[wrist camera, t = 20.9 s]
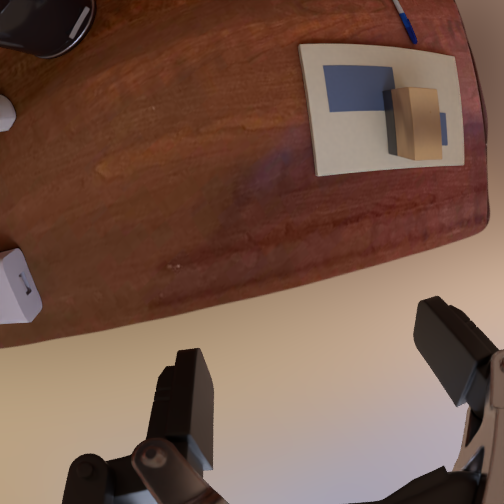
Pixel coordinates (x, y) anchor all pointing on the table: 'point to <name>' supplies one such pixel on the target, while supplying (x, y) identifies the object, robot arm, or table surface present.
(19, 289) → the charger
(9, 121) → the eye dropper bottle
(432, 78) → the board
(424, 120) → the eraser
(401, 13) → the ballpoint pen
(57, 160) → the table surface
